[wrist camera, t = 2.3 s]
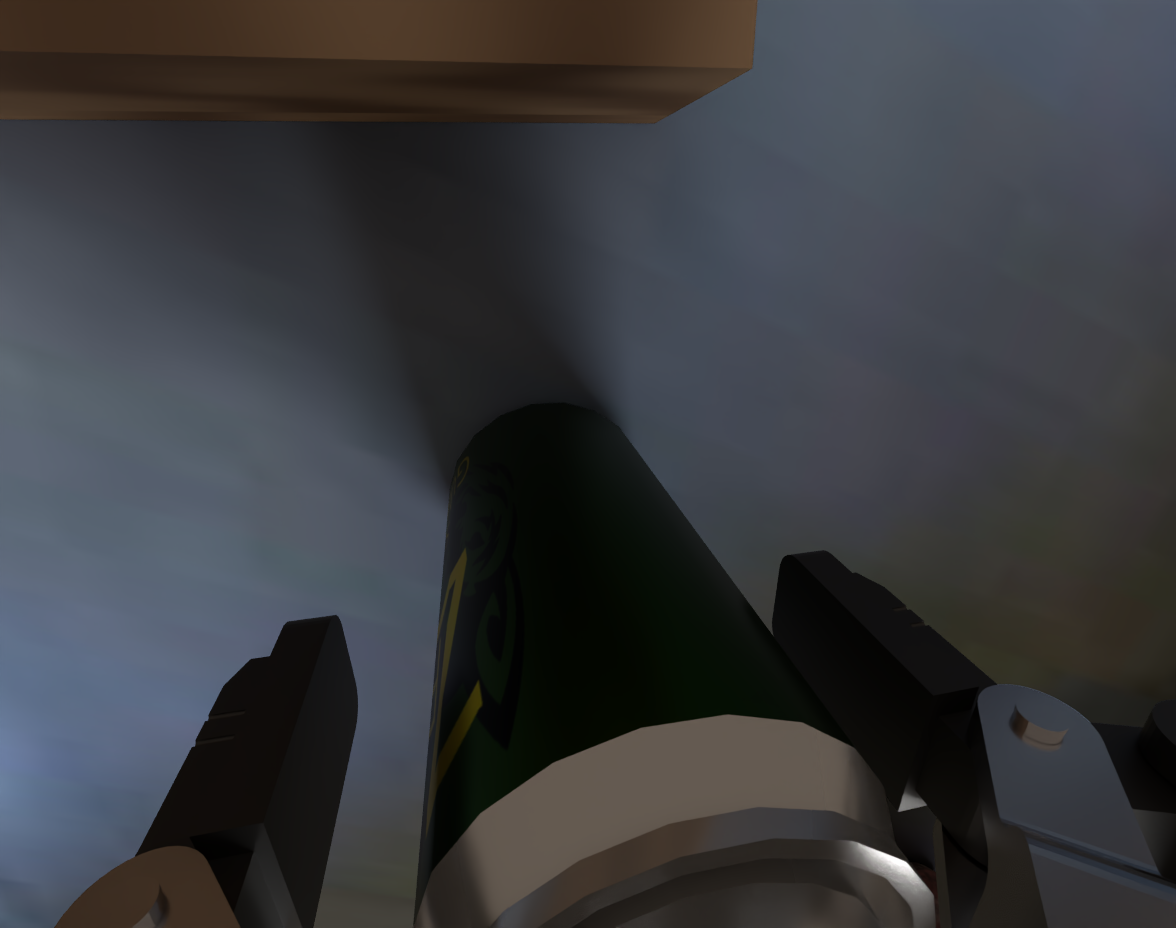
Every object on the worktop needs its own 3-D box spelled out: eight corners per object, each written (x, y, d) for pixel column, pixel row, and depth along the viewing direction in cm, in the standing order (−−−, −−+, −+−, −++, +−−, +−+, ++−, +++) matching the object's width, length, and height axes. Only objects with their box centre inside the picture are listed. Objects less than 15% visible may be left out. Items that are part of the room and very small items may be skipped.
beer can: (625, 377, 15) (998, 740, 4) (646, 542, 18) (929, 1054, 7) (428, 416, 15) (305, 949, 4) (475, 582, 17) (481, 1218, 6)
